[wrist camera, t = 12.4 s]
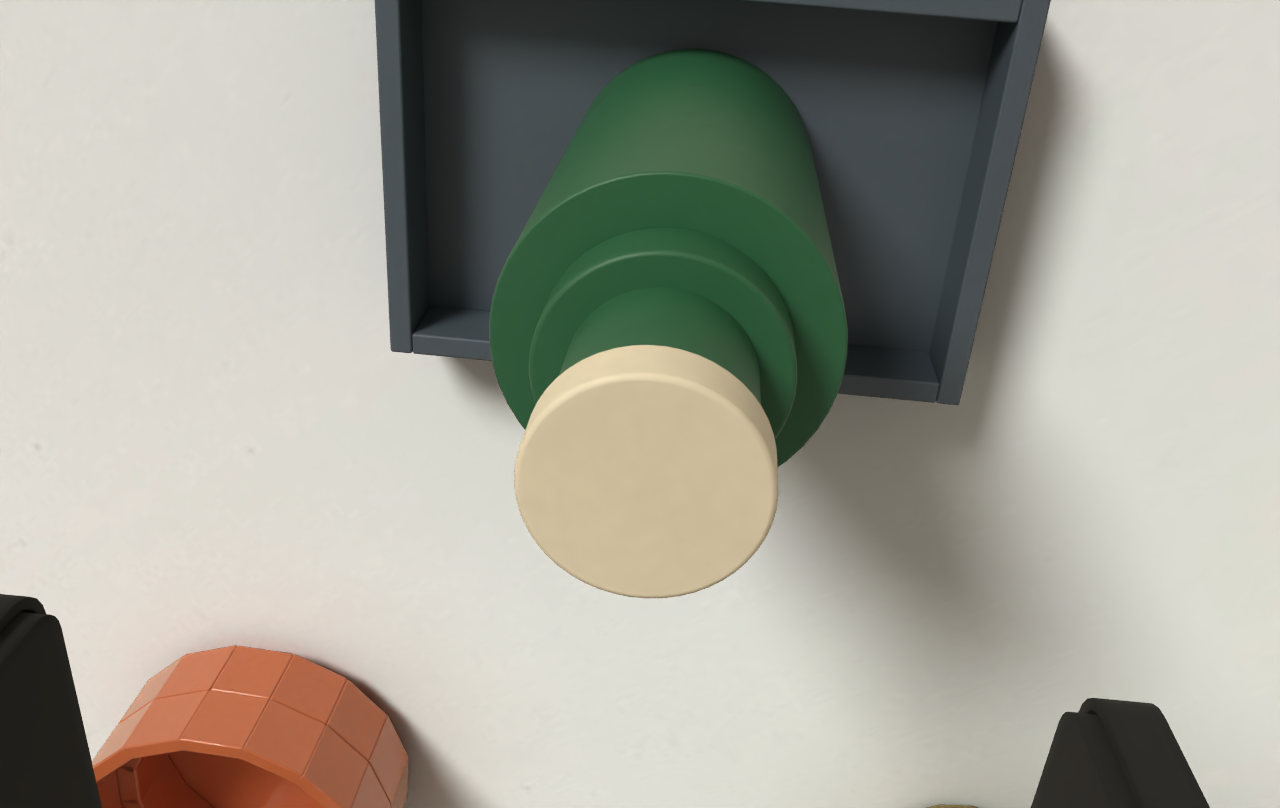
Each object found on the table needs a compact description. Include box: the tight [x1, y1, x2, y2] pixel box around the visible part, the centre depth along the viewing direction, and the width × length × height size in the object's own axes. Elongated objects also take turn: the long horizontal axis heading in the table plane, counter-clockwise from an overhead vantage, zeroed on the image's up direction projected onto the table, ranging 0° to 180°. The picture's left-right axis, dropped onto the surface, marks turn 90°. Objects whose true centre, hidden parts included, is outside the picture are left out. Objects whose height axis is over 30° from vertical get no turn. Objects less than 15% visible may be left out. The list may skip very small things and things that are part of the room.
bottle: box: [489, 48, 848, 598], centre depth 22 cm, size 6×6×16 cm
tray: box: [375, 0, 1051, 405], centre depth 28 cm, size 15×10×2 cm
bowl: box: [92, 645, 408, 808], centre depth 38 cm, size 10×10×5 cm
